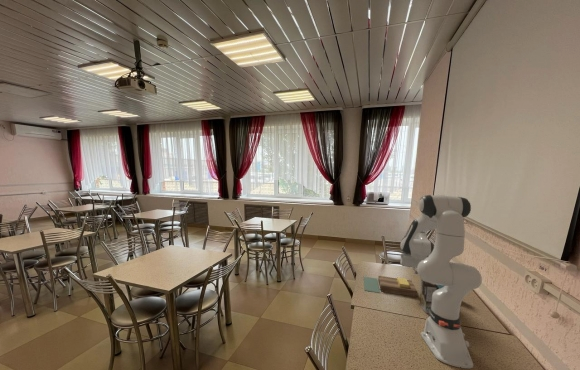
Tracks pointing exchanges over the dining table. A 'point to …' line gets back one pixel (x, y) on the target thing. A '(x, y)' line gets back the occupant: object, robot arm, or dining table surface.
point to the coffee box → (427, 295)
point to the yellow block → (403, 282)
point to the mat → (371, 284)
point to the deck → (396, 286)
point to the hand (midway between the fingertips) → (416, 273)
